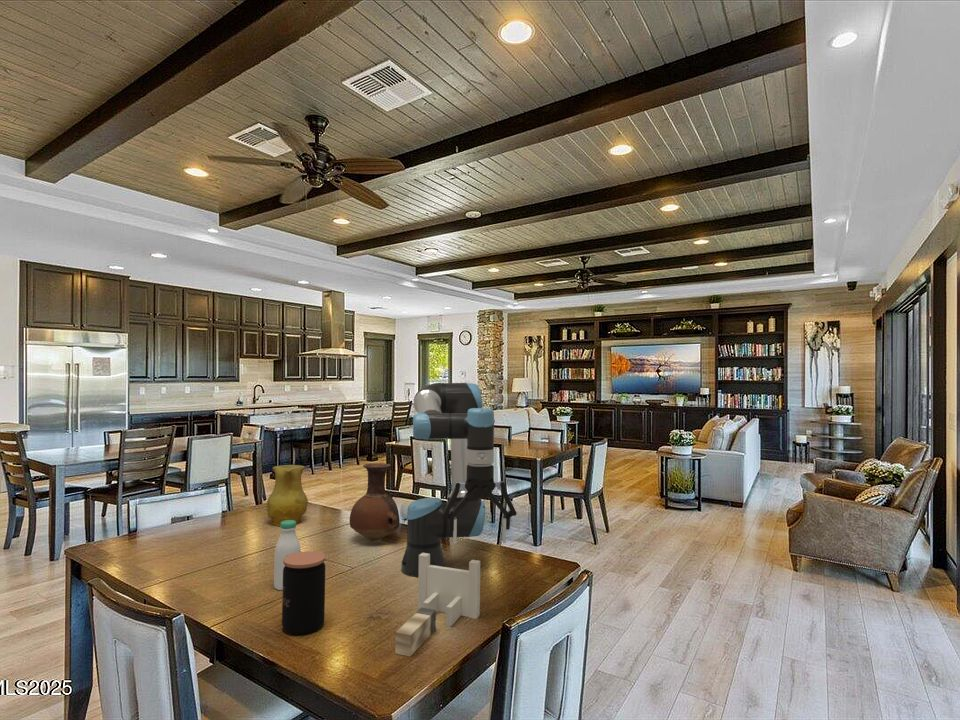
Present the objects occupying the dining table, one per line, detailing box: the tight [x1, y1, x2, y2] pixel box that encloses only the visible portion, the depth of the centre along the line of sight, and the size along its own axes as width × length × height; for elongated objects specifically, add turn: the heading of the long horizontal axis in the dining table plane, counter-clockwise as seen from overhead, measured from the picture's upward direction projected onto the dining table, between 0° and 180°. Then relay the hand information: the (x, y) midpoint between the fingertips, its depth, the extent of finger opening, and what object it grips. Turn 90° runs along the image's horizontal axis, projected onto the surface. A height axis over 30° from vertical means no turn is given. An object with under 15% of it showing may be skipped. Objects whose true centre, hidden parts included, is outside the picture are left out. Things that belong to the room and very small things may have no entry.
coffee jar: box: [281, 550, 326, 636], centre depth 141 cm, size 11×11×18 cm
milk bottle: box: [273, 520, 302, 591], centre depth 168 cm, size 8×8×20 cm
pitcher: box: [266, 464, 309, 527], centre depth 238 cm, size 17×19×25 cm
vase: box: [349, 462, 400, 542], centre depth 214 cm, size 25×20×30 cm
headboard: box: [417, 553, 481, 627], centre depth 148 cm, size 18×9×15 cm, turn 70°
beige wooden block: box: [394, 607, 437, 657], centre depth 134 cm, size 14×4×5 cm, turn 160°
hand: (479, 542), depth 147 cm, fingers open, 13 cm apart
